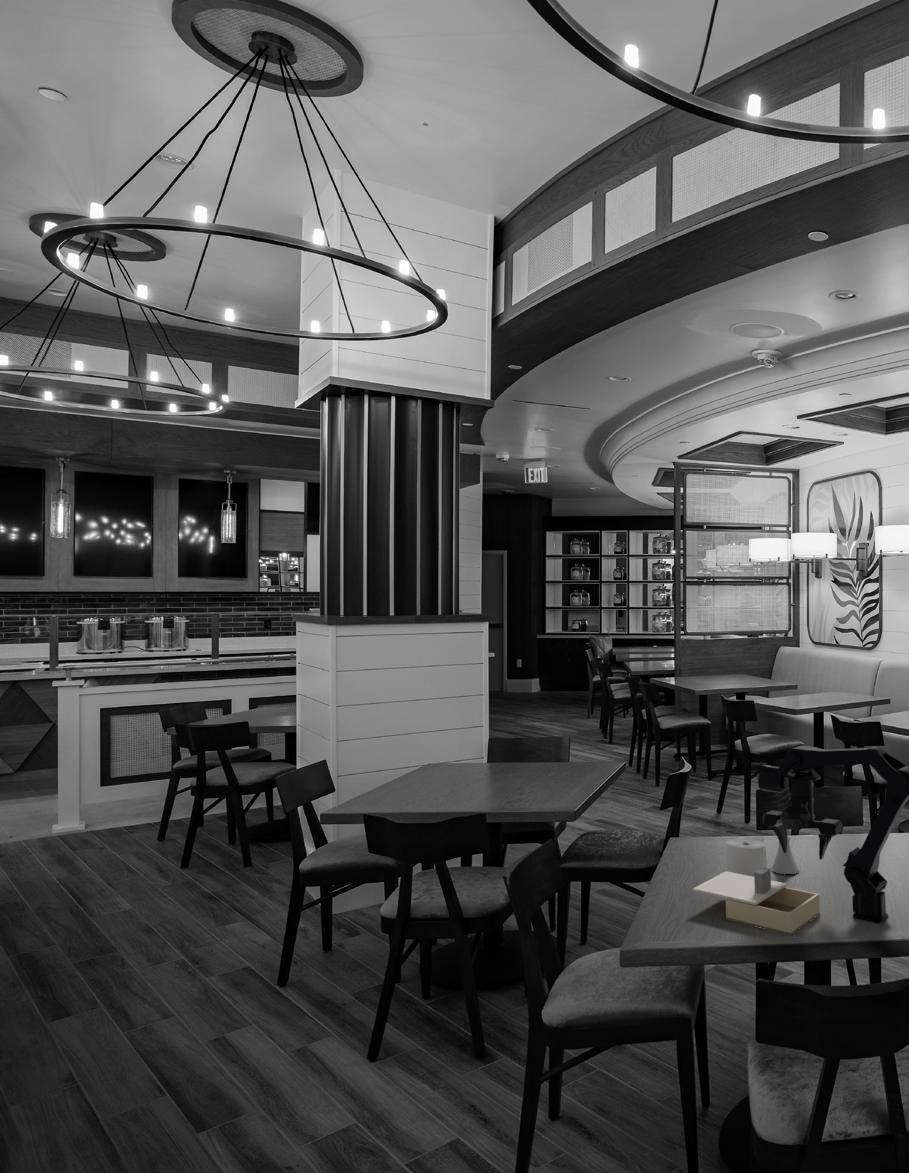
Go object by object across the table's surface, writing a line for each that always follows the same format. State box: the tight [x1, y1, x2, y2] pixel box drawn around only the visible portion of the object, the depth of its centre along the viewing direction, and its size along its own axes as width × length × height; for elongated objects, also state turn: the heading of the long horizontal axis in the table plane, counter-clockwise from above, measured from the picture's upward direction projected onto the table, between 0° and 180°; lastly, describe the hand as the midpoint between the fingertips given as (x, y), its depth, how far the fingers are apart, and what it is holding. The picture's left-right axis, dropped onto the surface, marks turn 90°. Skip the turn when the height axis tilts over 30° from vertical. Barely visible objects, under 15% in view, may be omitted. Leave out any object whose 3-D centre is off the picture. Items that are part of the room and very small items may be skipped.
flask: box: [770, 836, 800, 876], centre depth 244 cm, size 7×7×10 cm
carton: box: [725, 886, 821, 936], centre depth 209 cm, size 16×18×5 cm
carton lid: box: [692, 868, 788, 905], centre depth 215 cm, size 16×18×6 cm
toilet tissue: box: [725, 837, 768, 877], centre depth 239 cm, size 11×12×10 cm
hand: (803, 855), depth 219 cm, fingers open, 9 cm apart
